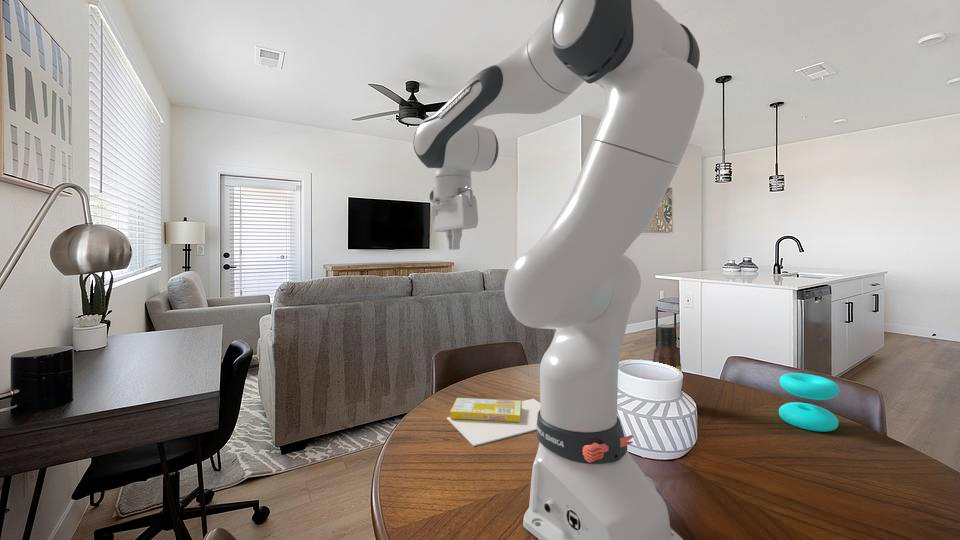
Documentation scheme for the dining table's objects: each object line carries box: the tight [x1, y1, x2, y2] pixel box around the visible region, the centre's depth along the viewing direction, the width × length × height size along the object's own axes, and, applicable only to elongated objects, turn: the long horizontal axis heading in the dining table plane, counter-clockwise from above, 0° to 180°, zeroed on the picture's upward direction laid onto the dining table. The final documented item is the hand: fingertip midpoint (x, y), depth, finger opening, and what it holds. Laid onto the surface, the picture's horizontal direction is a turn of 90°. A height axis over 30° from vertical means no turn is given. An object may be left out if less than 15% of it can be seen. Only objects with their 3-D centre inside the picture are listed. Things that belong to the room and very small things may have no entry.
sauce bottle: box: [652, 323, 682, 372], centre depth 96 cm, size 7×6×20 cm
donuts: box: [778, 372, 840, 433], centre depth 85 cm, size 10×10×10 cm
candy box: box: [449, 397, 523, 422], centre depth 92 cm, size 16×2×8 cm
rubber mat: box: [446, 398, 540, 447], centre depth 89 cm, size 14×24×1 cm, turn 116°
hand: (454, 249), depth 93 cm, fingers closed
